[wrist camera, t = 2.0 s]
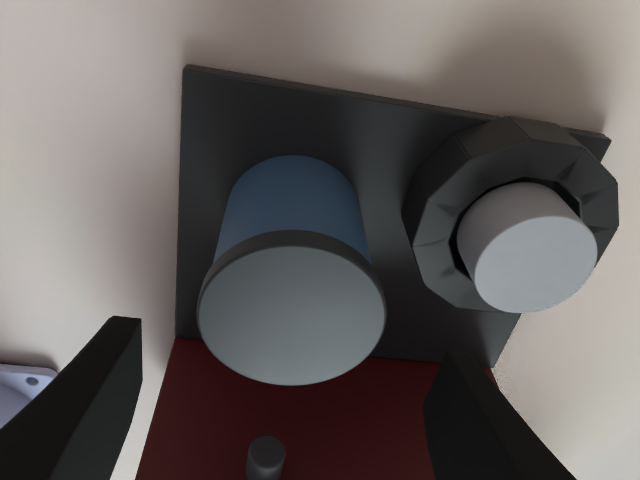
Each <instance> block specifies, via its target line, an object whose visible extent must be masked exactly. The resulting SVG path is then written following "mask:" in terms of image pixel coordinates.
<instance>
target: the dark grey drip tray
mask: <svg viewBox="0 0 640 480" xmlns="http://www.w3.org/2000/svg"><path fill="white" fill-rule="evenodd" d="M610 143H611V140H610V139H609V138H608V137H606V136H605V135H604V134H601V133H595V132H589V131H583V130H577V129H571V128H565V127H560V126H559V125H557V124H554V123H548V122H542V121H537V120H531V119H525V118H519V117H513V116H504V117H499V116H493V115H487V114H481V113H475V112H469V111H464V110H458V109H452V108H446V107H440V106H434V105H428V104H422V103H416V102H410V101H404V100H398V99H392V98H386V97H380V96H374V95H368V94H362V93H356V92H350V91H344V90H338V89H332V88H326V87H321V86H315V85H309V84H303V83H297V82H291V81H285V80H279V79H273V78H267V77H261V76H255V75H249V74H243V73H237V72H231V71H225V70H219V69H213V68H207V67H201V66H195V65H189V64H186V66H185V67H184V68H183V74H182V107H181V141H180V175H179V208H178V242H177V276H176V309H175V336H176V337H185V338H195V339H202V336H201V334H200V331H199V328H198V323H197V304H198V299H199V295H200V291H201V287H202V284H203V281H204V278H205V276H206V274H207V272H208V271H209V269H210V268H211V266H212V265H213V261H214V257H215V253H216V248H217V244H218V240H219V236H220V231H221V227H222V223H223V219H224V214H225V210H226V206H227V202H228V198H229V195H230V192H231V190H232V188H233V186H234V185H235V183H236V182H237V181H238V179H239V178H240V177H241V176H242V175H243V174H244V173H245V172H246V171H247V170H249V169H250V168H251V167H253V166H255V165H256V164H258V163H260V162H262V161H265V160H267V159H270V158H274V157H278V156H284V155H301V156H308V157H312V158H316V159H318V160H321V161H324V162H326V163H328V164H330V165H331V166H333V167H334V168H336V169H337V170H339V171H340V172H341V173H342V174H343V175H344V176H345V177H346V178H347V179H348V181H349V182H350V183H351V185H352V186H353V188H354V190H355V192H356V194H357V197H358V201H359V205H360V209H361V214H362V219H363V224H364V229H365V234H366V238H367V243H368V248H369V253H370V258H371V262H372V267H373V268H374V269H375V271H376V273H377V275H378V277H379V279H380V281H381V285H382V288H383V292H384V297H385V301H386V310H387V316H386V324H385V328H384V331H383V334H382V336H381V338H380V341H379V342H378V344H377V346H376V347H375V349H374V350H373V351H372V352H371V353H370V355H369V356H375V357H385V358H395V359H405V360H415V361H425V362H435V363H441V361H442V359H443V357H444V354H445V352H446V351H455V352H464V353H470V354H471V355H472V356H473V357H474V359H475V360H476V361H477V362H478V364H479V365H480V366H481V367H485V368H493V367H494V366H495V364H496V362H497V360H498V358H499V356H500V354H501V352H502V350H503V348H504V346H505V344H506V343H507V341H508V339H509V337H510V335H511V333H512V331H513V329H514V327H515V325H516V323H517V321H518V320H519V318H520V316H521V314H522V313H511V312H505V311H502V310H499V309H497V308H494V307H493V306H491V305H489V304H488V303H487V302H486V301H484V300H483V299H482V297H481V296H480V295H479V293H478V291H477V290H476V287H475V285H474V283H473V281H472V279H471V277H470V275H469V272H468V270H467V268H466V266H465V264H464V262H463V260H462V257H461V255H460V253H459V250H458V246H457V232H458V228H459V225H460V222H461V220H462V218H463V216H464V215H465V213H466V212H467V210H468V209H469V208H470V207H471V206H472V205H473V204H474V203H475V202H476V201H477V200H478V199H479V198H481V197H482V196H483V195H485V194H486V193H488V192H490V191H492V190H494V189H496V188H498V187H501V186H504V185H508V184H512V183H518V182H529V183H536V184H541V185H544V186H546V187H548V188H550V189H552V190H553V191H555V192H556V193H557V194H558V195H559V196H560V197H561V198H562V199H563V200H564V202H565V203H566V204H567V205H568V206H569V207H570V208H571V209H572V210H573V212H574V213H575V214H576V215H577V216H578V217H579V218H580V219H581V220H582V222H583V223H584V224H585V225H586V226H587V227H588V228H589V229H590V230H591V232H592V233H593V235H594V237H595V240H596V243H597V260H596V264H595V266H596V265H597V263H598V261H599V260H600V258H601V256H602V254H603V253H604V251H605V249H606V248H607V246H608V244H609V243H610V241H611V239H612V237H613V236H614V234H615V232H616V231H617V228H618V226H619V210H618V183H617V181H616V179H615V178H614V177H613V176H612V175H611V174H610V173H609V172H608V170H607V169H606V168H605V167H604V166H603V165H602V164H601V163H600V162H601V160H602V159H603V157H604V155H605V153H606V151H607V149H608V147H609V145H610ZM594 268H595V267H594Z"/></svg>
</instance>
